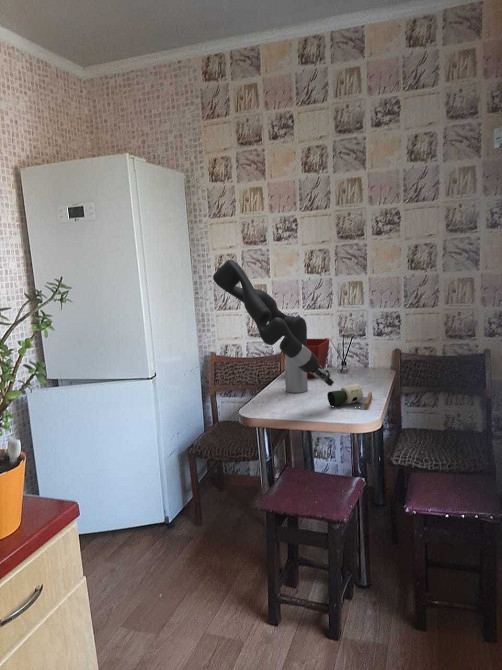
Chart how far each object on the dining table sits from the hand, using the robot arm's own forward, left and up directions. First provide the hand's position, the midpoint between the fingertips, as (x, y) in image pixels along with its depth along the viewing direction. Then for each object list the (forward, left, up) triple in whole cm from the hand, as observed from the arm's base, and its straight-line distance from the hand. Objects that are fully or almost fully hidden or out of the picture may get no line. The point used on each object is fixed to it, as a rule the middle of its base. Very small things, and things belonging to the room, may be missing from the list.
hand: (331, 383), depth 210 cm
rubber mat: (+7, +6, -9) cm, 13 cm away
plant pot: (-22, +54, -10) cm, 59 cm away
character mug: (-1, -1, -6) cm, 6 cm away
